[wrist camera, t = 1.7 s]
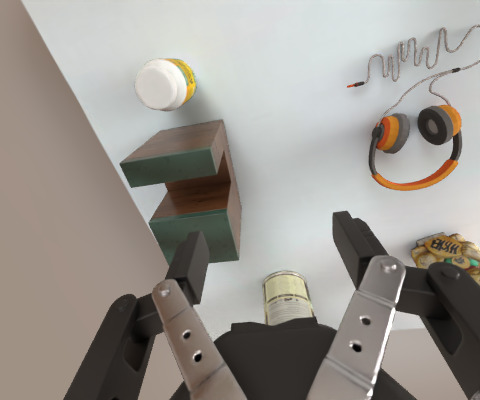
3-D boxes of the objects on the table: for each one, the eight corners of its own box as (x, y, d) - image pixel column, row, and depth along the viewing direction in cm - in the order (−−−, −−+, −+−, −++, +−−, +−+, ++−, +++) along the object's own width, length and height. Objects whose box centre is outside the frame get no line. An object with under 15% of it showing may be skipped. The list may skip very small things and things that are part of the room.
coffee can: (315, 288, 53) (334, 354, 41) (279, 304, 57) (287, 369, 45) (290, 263, 49) (303, 329, 37) (253, 283, 53) (254, 348, 41)
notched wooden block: (159, 130, 35) (118, 163, 24) (222, 119, 34) (210, 148, 23) (189, 214, 43) (169, 267, 32) (241, 207, 42) (238, 260, 31)
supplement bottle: (151, 82, 32) (117, 90, 24) (173, 48, 30) (144, 44, 21) (182, 110, 34) (161, 126, 25) (205, 80, 31) (190, 88, 23)
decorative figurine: (455, 221, 42) (545, 292, 29) (465, 248, 45) (549, 322, 33) (401, 244, 45) (460, 316, 33) (413, 267, 49) (472, 342, 36)
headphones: (520, 2, 24) (495, 183, 30) (475, 23, 29) (462, 174, 35) (352, 45, 27) (361, 204, 33) (338, 57, 32) (347, 193, 38)
